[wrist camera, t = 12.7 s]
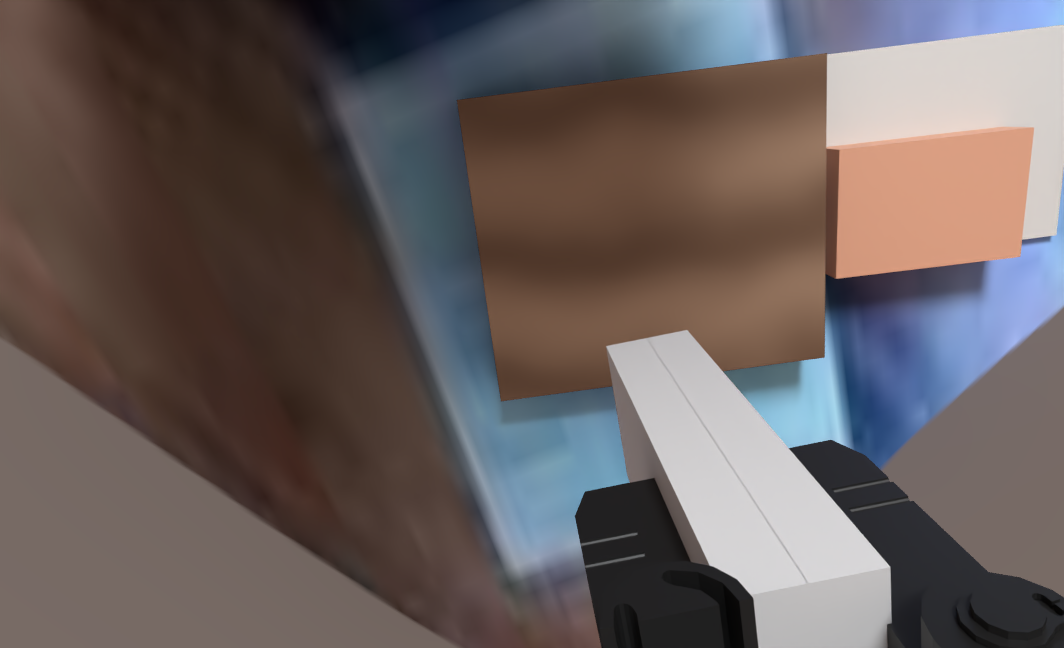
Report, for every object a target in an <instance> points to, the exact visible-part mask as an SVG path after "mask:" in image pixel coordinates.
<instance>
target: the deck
mask: <svg viewBox="0 0 1064 648" xmlns="http://www.w3.org/2000/svg"><path fill="white" fill-rule="evenodd" d="M457 104H458V111H459V118H460V125H461V132H462V138H463V145H464V152H465V159H466V166H467V173H468V179H469V186H470V193H471V200H472V207H473V214H474V220H475V227H476V234H477V241H478V248H479V255H480V261H481V268H482V275H483V282H484V289H485V296H486V302H487V309H488V316H489V323H490V330H491V337H492V343H493V350H494V357H495V364H496V371H497V378H498V384H499V391H500V398H501V401H507V400H514V399H521V398H529V397H536V396H544V395H551V394H558V393H566V392H573V391H580V390H588V389H595V388H603V387H610V386H613V385H612V379H611V373H610V367H609V361H608V355H607V349H606V346H610V345H615V344H620V343H625V342H630V341H635V340H639V339H644V338H649V337H654V336H659V335H664V334H669V333H674V332H679V331H684V330H688V332H689V333H690V334H691V335H692V336H693V337H694V339H695V340H696V341H697V342H698V343H699V344H700V346H701V347H702V348H703V349H704V350H705V351H706V353H707V354H708V355H709V356H710V357H711V358H712V360H713V361H714V362H715V363H716V364H717V365H718V367H719V368H720V369H721V370H722V371H728V370H735V369H743V368H750V367H758V366H765V365H772V364H780V363H787V362H795V361H802V360H809V359H817V358H824V357H825V244H826V127H827V53H825V54H817V55H809V56H802V57H794V58H786V59H778V60H770V61H762V62H754V63H746V64H738V65H730V66H722V67H714V68H706V69H698V70H691V71H683V72H675V73H667V74H659V75H651V76H643V77H635V78H627V79H619V80H611V81H603V82H595V83H587V84H580V85H572V86H564V87H556V88H548V89H540V90H532V91H524V92H516V93H508V94H500V95H492V96H484V97H477V98H469V99H461V100H457Z"/></svg>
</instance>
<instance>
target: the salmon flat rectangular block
mask: <svg viewBox="0 0 1064 648" xmlns="http://www.w3.org/2000/svg"><path fill="white" fill-rule="evenodd" d="M1033 134H1034V127H995V128H987V129H978V130H969V131H960V132H952V133H943V134H934V135H926V136H917V137H908V138H900V139H891V140H882V141H874V142H865V143H856V144H848V145H839V146H830V147H826V244H825V274H827V275H829V276H831V277H833V278H835V279H839V278H847V277H855V276H864V275H872V274H880V273H889V272H897V271H905V270H914V269H922V268H930V267H939V266H947V265H955V264H964V263H972V262H980V261H989V260H997V259H1005V258H1014V257H1020V254H1021V245H1022V235H1023V226H1024V217H1025V208H1026V199H1027V189H1028V180H1029V171H1030V162H1031V153H1032V144H1033Z"/></svg>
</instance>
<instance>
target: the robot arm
mask: <svg viewBox="0 0 1064 648" xmlns="http://www.w3.org/2000/svg"><path fill="white" fill-rule="evenodd" d="M606 349H607V355H608V361H609V367H610V373H611V379H612V385H613V391H614V397H615V403H616V409H617V416H618V422H619V428H620V434H621V440H622V446H623V452H624V458H625V464H626V470H627V475H628V478H629V481H630V483H626V484H621V485H616V486H611V487H606V488H601V489H596V490H591V491H586V492H585V493H584V495H583V498H582V500H581V503H580V505H579V508H578V510H577V512H576V515H575V519H576V524H577V529H578V534H579V539H580V544H581V549H582V554H583V559H584V564H585V569H586V574H587V579H588V584H589V589H590V594H591V599H592V604H593V609H594V614H595V618H596V623H597V628H598V633H599V638H600V643H601V648H1064V598H1063V597H1062V596H1061V595H1059V594H1057V593H1056V592H1054V591H1053V590H1050V589H1048V588H1045V587H1043V586H1040V585H1038V584H1035V583H1032V582H1030V581H1027V580H1025V579H1022V578H1019V577H1013V576H1008V575H1002V574H996V573H990V572H988V571H987V570H985V569H984V568H983V567H982V566H981V565H980V564H979V563H978V562H977V561H976V560H975V559H974V558H973V557H972V556H971V555H970V554H969V553H968V552H966V551H965V550H964V549H963V548H962V547H961V546H960V545H959V544H958V543H957V542H956V541H955V540H954V539H953V538H952V537H951V536H950V535H948V534H947V533H946V532H945V531H944V530H943V529H942V528H941V527H940V526H939V525H938V524H937V523H936V522H935V521H934V520H933V519H932V518H930V516H928V515H927V514H926V513H925V512H924V511H923V510H922V509H921V508H920V507H919V506H918V505H917V504H916V503H915V502H914V501H909V499H908V496H907V495H906V494H905V493H904V492H903V491H902V490H901V489H900V488H899V487H898V486H897V485H896V484H895V483H894V482H889V479H888V477H887V476H886V475H885V474H884V473H883V472H882V471H881V470H880V469H879V468H878V467H877V466H876V465H875V464H874V463H873V462H872V461H870V460H869V459H868V458H867V457H866V456H865V455H863V454H861V453H859V452H857V451H854V450H852V449H850V448H848V447H846V446H843V445H841V444H839V443H837V442H835V441H833V440H828V441H823V442H818V443H813V444H808V445H803V446H798V447H793V448H788V447H787V446H786V445H785V444H784V442H783V441H782V440H781V439H780V438H779V437H778V435H777V434H776V433H775V432H774V431H773V430H772V428H771V427H770V426H769V425H768V424H767V423H766V421H765V420H764V419H763V418H762V417H761V416H760V414H759V413H758V412H757V411H756V410H755V409H754V407H753V406H752V405H751V404H750V403H749V402H748V400H747V399H746V398H745V397H744V396H743V395H742V393H741V392H740V391H739V390H738V389H737V388H736V386H735V385H734V384H733V383H732V382H731V381H730V379H729V378H728V377H727V376H726V375H725V374H724V372H723V371H722V370H721V369H720V368H719V367H718V365H717V364H716V363H715V362H714V361H713V360H712V358H711V357H710V356H709V355H708V354H707V353H706V351H705V350H704V349H703V348H702V347H701V346H700V344H699V343H698V342H697V341H696V340H695V339H694V337H693V336H692V335H691V334H690V333H689V332H688V330H684V331H679V332H674V333H669V334H664V335H659V336H654V337H649V338H644V339H639V340H635V341H630V342H625V343H620V344H615V345H610V346H606Z"/></svg>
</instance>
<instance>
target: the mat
mask: <svg viewBox="0 0 1064 648" xmlns="http://www.w3.org/2000/svg"><path fill="white" fill-rule="evenodd" d="M995 127H1034V134H1033V144H1032V153H1031V162H1030V171H1029V180H1028V189H1027V199H1026V208H1025V217H1024V226H1023V235H1022V240H1024V239H1032V238H1039V237H1047V236H1054V235H1056V233H1057V224H1058V215H1059V206H1060V197H1061V188H1062V179H1063V170H1064V25H1058V26H1050V27H1042V28H1034V29H1026V30H1018V31H1010V32H1002V33H995V34H987V35H979V36H971V37H963V38H955V39H947V40H939V41H931V42H923V43H915V44H907V45H899V46H892V47H884V48H876V49H868V50H860V51H852V52H844V53H836V54H828V55H827V127H826V147H830V146H839V145H848V144H856V143H865V142H874V141H882V140H891V139H900V138H908V137H917V136H926V135H934V134H943V133H952V132H960V131H969V130H978V129H987V128H995Z"/></svg>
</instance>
